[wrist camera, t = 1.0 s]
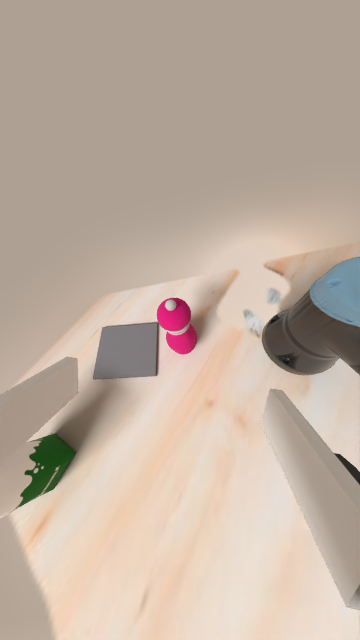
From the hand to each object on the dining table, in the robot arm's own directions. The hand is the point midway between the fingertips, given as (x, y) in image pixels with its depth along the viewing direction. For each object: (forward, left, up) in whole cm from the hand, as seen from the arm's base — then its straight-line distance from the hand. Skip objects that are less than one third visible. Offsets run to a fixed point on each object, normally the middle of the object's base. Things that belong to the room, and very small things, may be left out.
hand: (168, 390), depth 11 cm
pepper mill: (+2, -13, -30) cm, 32 cm away
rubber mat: (+17, -12, -29) cm, 36 cm away
